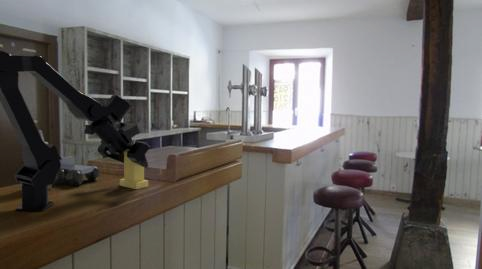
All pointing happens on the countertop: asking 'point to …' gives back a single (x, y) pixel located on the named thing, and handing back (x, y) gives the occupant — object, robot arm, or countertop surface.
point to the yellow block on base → (133, 175)
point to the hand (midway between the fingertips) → (137, 165)
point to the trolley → (75, 172)
